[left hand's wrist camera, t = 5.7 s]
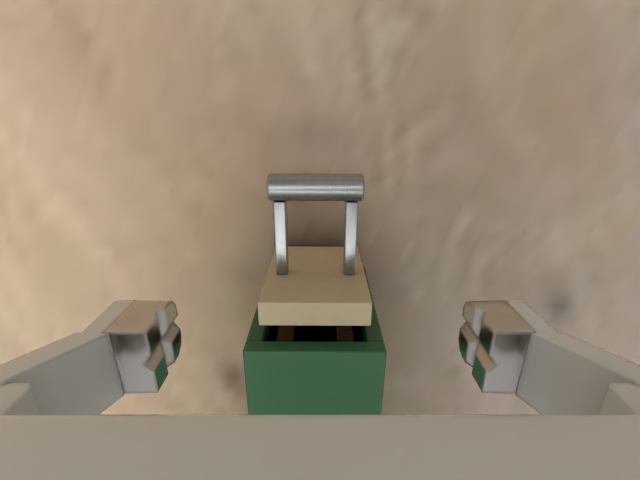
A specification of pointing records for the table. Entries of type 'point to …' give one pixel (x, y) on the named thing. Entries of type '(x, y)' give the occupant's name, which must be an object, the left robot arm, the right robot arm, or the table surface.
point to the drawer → (315, 266)
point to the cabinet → (314, 372)
